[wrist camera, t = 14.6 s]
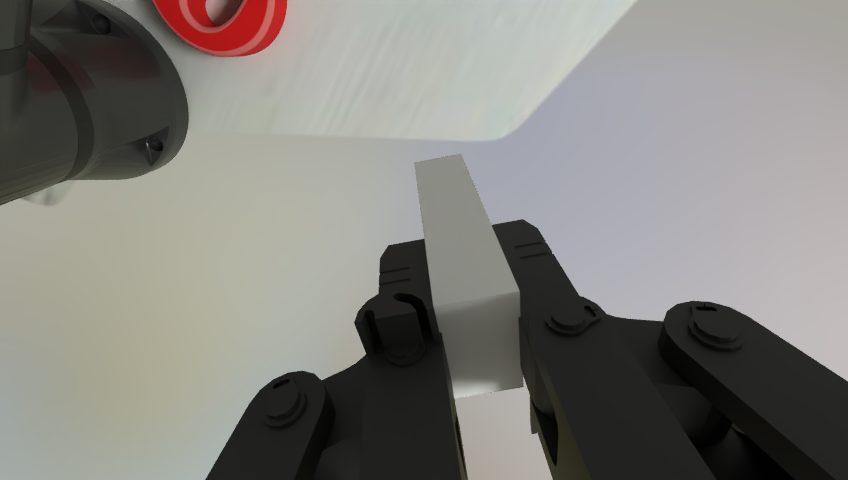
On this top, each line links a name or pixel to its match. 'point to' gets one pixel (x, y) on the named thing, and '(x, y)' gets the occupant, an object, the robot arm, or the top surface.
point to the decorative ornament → (225, 25)
